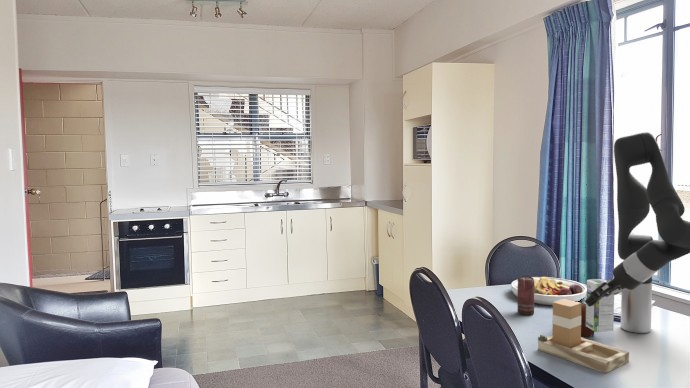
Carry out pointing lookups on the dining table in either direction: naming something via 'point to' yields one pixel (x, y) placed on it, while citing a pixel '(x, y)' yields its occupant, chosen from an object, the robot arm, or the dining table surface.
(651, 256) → the robot arm
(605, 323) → the syrup box
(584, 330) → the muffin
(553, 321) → the tan cardboard box
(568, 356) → the pallet
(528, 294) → the can
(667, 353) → the dining table surface
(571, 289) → the bowl
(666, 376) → the dining table surface
